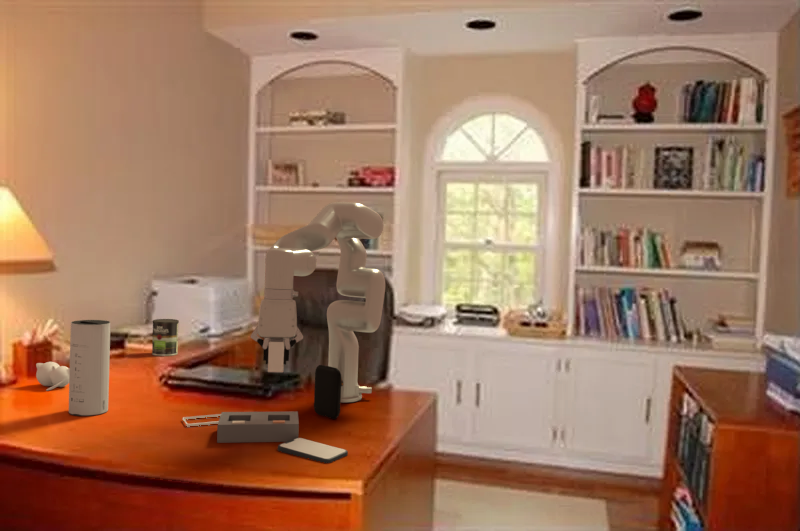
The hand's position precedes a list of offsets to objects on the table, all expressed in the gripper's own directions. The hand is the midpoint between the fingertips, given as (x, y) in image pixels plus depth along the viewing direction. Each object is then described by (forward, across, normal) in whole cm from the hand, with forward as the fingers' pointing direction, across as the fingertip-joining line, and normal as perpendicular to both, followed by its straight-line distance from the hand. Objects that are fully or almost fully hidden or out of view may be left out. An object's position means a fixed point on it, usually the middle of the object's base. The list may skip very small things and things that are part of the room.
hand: (276, 362), depth 182 cm
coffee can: (+17, +48, -109) cm, 121 cm away
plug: (+2, 0, 0) cm, 2 cm away
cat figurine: (+18, +72, -49) cm, 89 cm away
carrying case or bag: (+18, -15, -12) cm, 26 cm away
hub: (+18, +4, +5) cm, 19 cm away
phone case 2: (+19, -10, +19) cm, 29 cm away
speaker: (+18, +52, -18) cm, 58 cm away
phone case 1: (+19, +17, -8) cm, 26 cm away
